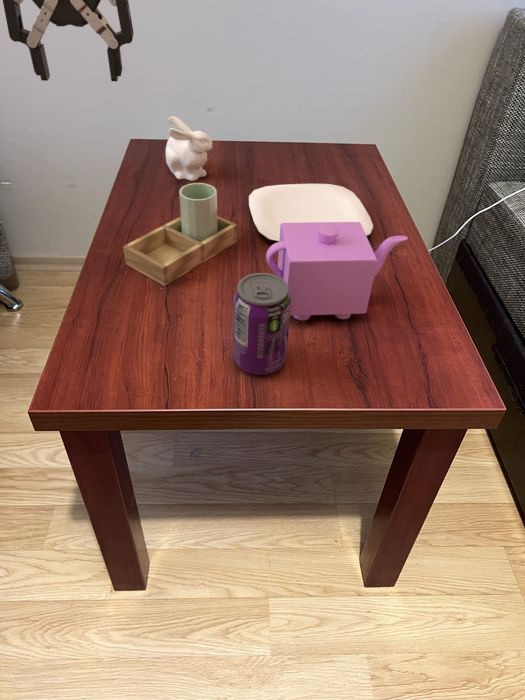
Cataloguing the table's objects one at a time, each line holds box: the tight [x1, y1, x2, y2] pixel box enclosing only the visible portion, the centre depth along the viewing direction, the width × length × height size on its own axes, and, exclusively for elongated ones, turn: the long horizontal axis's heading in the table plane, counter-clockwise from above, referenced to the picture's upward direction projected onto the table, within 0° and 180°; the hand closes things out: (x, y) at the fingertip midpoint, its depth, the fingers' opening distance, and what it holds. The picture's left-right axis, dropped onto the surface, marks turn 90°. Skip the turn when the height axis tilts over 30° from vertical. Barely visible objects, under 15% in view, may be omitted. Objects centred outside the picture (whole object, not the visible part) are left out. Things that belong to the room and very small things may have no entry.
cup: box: [178, 182, 218, 242], centre depth 90 cm, size 6×6×9 cm
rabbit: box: [165, 115, 213, 182], centre depth 109 cm, size 12×9×12 cm
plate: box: [248, 183, 374, 243], centre depth 101 cm, size 22×22×2 cm
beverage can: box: [232, 272, 291, 375], centre depth 69 cm, size 7×7×12 cm
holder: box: [122, 215, 238, 287], centre depth 90 cm, size 17×9×3 cm, turn 142°
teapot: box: [265, 222, 409, 321], centre depth 79 cm, size 20×10×12 cm, turn 95°
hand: (80, 79), depth 69 cm, fingers open, 8 cm apart
